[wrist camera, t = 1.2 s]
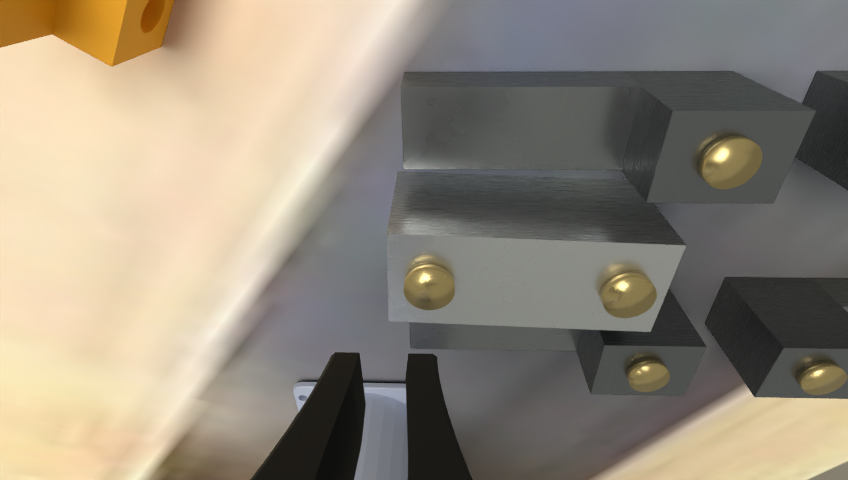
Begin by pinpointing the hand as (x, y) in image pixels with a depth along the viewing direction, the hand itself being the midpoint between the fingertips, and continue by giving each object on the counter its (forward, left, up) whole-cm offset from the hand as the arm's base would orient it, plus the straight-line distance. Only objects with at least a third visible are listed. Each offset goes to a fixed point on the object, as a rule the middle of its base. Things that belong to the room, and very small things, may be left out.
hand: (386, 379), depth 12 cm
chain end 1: (-1, -6, -10) cm, 12 cm away
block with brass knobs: (-1, -4, -10) cm, 11 cm away
